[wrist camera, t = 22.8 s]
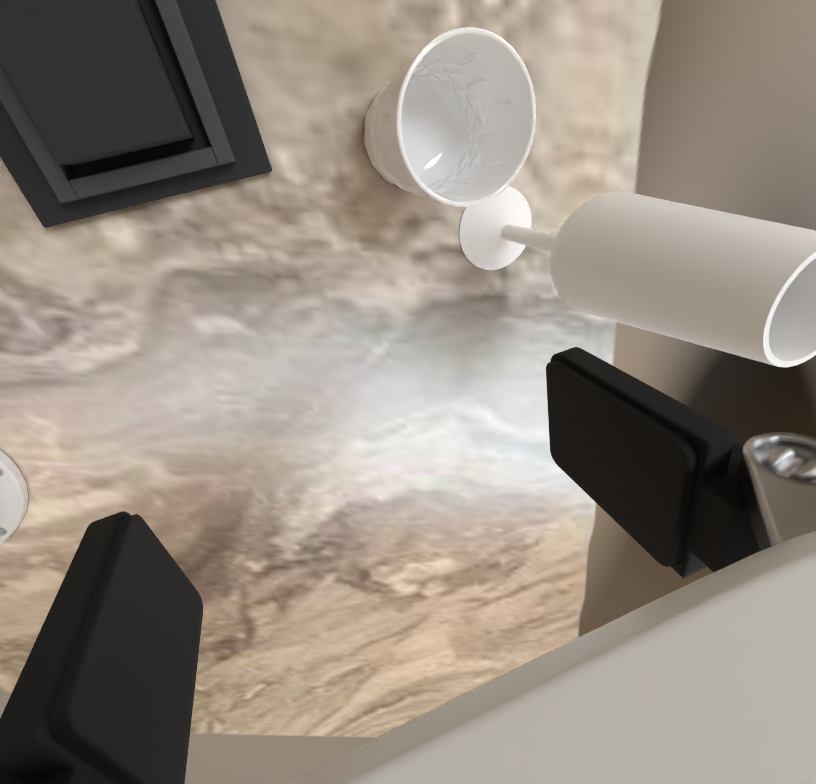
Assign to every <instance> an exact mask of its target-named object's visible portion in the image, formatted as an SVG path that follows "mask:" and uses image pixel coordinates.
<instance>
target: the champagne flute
mask: <svg viewBox="0 0 816 784" xmlns="http://www.w3.org/2000/svg"><path fill="white" fill-rule="evenodd" d="M531 224H532V221H531V212H530V208H529V205H528V203H527V201H526V199H525V198H524V197H523V195H522V194H521V193H520V192H519V191H517V190H516V189H514V188H512V187H510V186H508V187H507V188H506V189H505V190H504V191H503V192H501V193H500V194H499V195H497V196H496V197H494V198H493V199H491V200H489V201H487V202H485V203H482V204H479V205H475V206H469V207H466V209H465V211H464V213H463V216H462V219H461V223H460V231H459V237H460V244H461V247H462V250H463V252H464V254H465V256H466V258H467V259H468V260H469V261H470V262H471V263H472V264H473V265H475V266H476V267H478V268H481V269H484V270H497V269H500V268H503V267H505V266H507V265H509V264H511V263H512V262H513V261H514V260H515V259H516V258H517V257H518V256H519V255H520V254H521V253H522V251H523V249H524V248H525V246H526V245H527V246H530V247H534V248H538V249H541V250H545V251H549V252H551V257H550V270H551V276H552V280H553V283H554V286H555V288H556V290H557V292H558V294H559V296H560V297H561V298H562V299H563V301H564V302H565V303H567V304H568V305H569V306H570V307H572V308H573V309H575V310H578V311H580V312H583V313H587V314H591V315H594V316H598V317H601V318H605V319H609V320H612V321H616V322H619V323H623V324H627V325H630V326H634V327H638V328H641V329H645V330H648V331H652V332H655V333H659V334H663V335H666V336H670V337H674V338H678V339H681V340H684V341H688V342H692V343H695V344H699V345H703V346H706V347H710V348H713V349H717V350H720V351H724V352H728V353H731V354H735V355H739V356H742V357H746V358H749V359H753V360H757V361H760V362H764V363H767V364H771V365H774V366H778V367H790V366H795V365H798V364H800V363H803V362H805V361H807V360H808V359H810V358H812V357H813V356H815V355H816V231H815V230H810V229H804V228H800V227H795V226H789V225H785V224H780V223H775V222H770V221H765V220H760V219H756V218H751V217H746V216H741V215H736V214H731V213H726V212H721V211H716V210H711V209H706V208H701V207H696V206H692V205H687V204H681V203H677V202H672V201H667V200H662V199H657V198H652V197H647V196H642V195H638V194H633V193H628V192H623V191H621V192H610V193H606V194H603V195H600V196H597V197H595V198H593V199H591V200H589V201H587V202H586V203H585V204H583V205H582V206H581V207H580V208H578V209H577V210H576V211H575V212H573V213H572V214H571V216H570V217H569V218H568V219H567V220H566V221H565V223H564V224H563V226H562V227H561V229H560V230H559V232H558V234H553V233H548V232H544V231H539V230H534V229H531Z"/></svg>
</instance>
